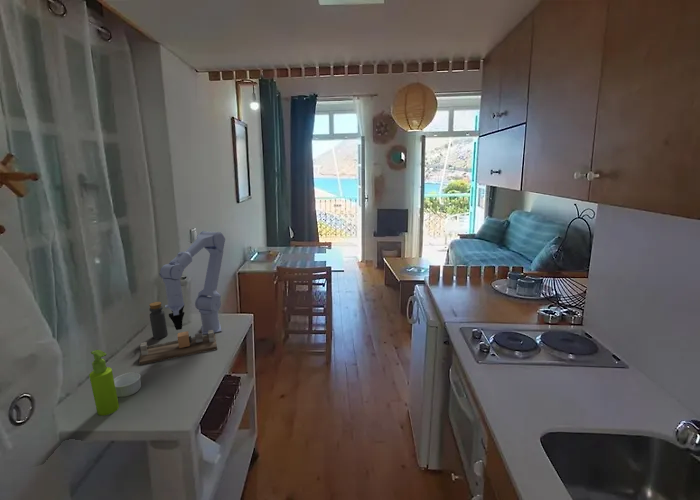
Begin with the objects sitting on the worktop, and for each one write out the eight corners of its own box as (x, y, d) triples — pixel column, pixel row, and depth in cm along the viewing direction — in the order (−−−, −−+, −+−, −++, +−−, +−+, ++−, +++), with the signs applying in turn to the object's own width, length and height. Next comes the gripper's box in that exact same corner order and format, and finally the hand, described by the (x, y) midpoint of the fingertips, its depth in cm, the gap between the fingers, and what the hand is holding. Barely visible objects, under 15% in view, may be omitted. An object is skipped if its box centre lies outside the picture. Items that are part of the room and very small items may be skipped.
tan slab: (142, 350, 165) (140, 338, 164) (215, 336, 175) (213, 325, 173) (139, 364, 153) (137, 352, 152) (217, 349, 163) (215, 337, 162)
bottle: (170, 334, 178) (165, 302, 175) (158, 340, 173) (152, 307, 170) (162, 331, 181) (157, 300, 178) (150, 337, 177) (144, 304, 173)
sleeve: (179, 343, 165) (177, 333, 164) (189, 341, 167) (188, 331, 166) (179, 348, 162) (177, 337, 160) (189, 346, 163) (188, 335, 162)
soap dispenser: (105, 419, 122) (92, 358, 117) (93, 412, 125) (80, 353, 121) (124, 408, 127) (113, 349, 122) (112, 402, 130) (101, 345, 125)
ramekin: (126, 400, 131) (124, 388, 130) (106, 395, 134) (104, 384, 133) (148, 385, 139) (146, 374, 138) (128, 381, 142) (126, 370, 141)
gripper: (164, 290, 166) (169, 320, 169) (162, 301, 153) (167, 334, 156) (182, 287, 168) (187, 317, 171) (182, 298, 155) (187, 331, 158)
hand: (179, 325), depth 164 cm, fingers open, 7 cm apart
